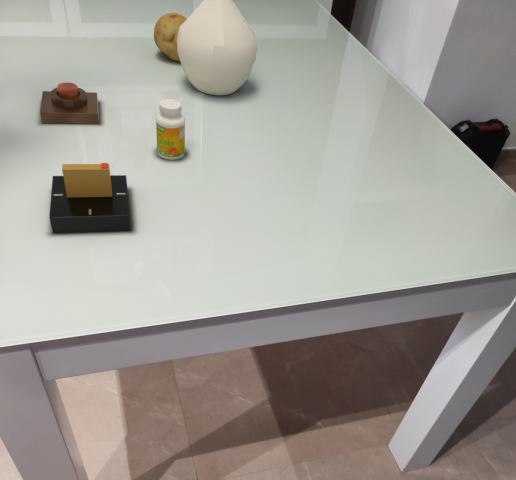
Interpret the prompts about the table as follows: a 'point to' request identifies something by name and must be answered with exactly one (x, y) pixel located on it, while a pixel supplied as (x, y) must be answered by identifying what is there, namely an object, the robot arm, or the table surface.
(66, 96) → the red short cylinder
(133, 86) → the table surface
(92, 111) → the brown square block
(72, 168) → the dial pointer knob
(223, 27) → the vase
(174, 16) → the potato
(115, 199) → the dial pointer knob base
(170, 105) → the supplement bottle
